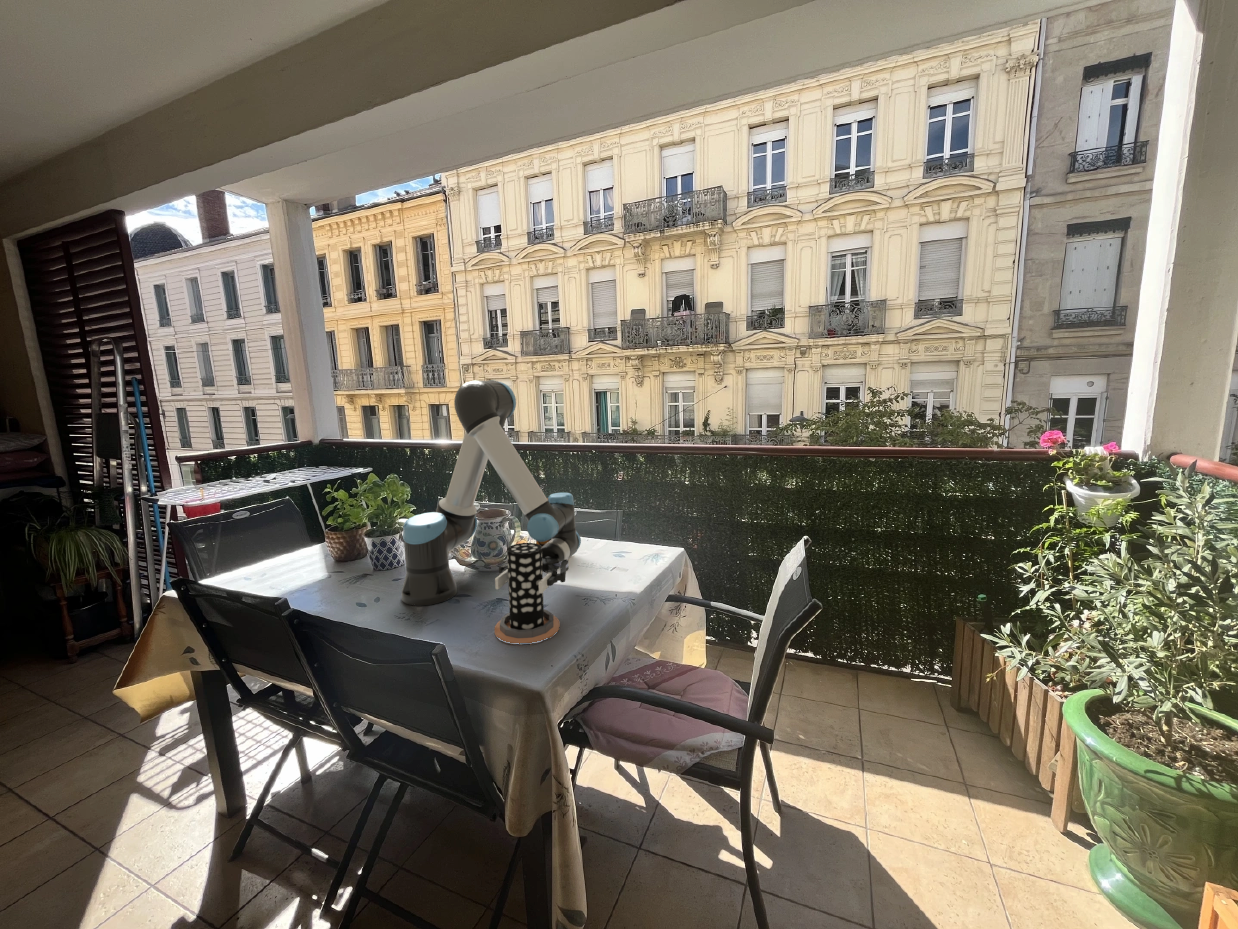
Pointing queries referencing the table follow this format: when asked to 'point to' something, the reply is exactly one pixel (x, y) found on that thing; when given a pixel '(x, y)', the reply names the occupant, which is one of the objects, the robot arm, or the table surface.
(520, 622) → the white-spotted black cylinder
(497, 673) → the table surface
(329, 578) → the table surface
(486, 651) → the table surface
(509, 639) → the collar plate
